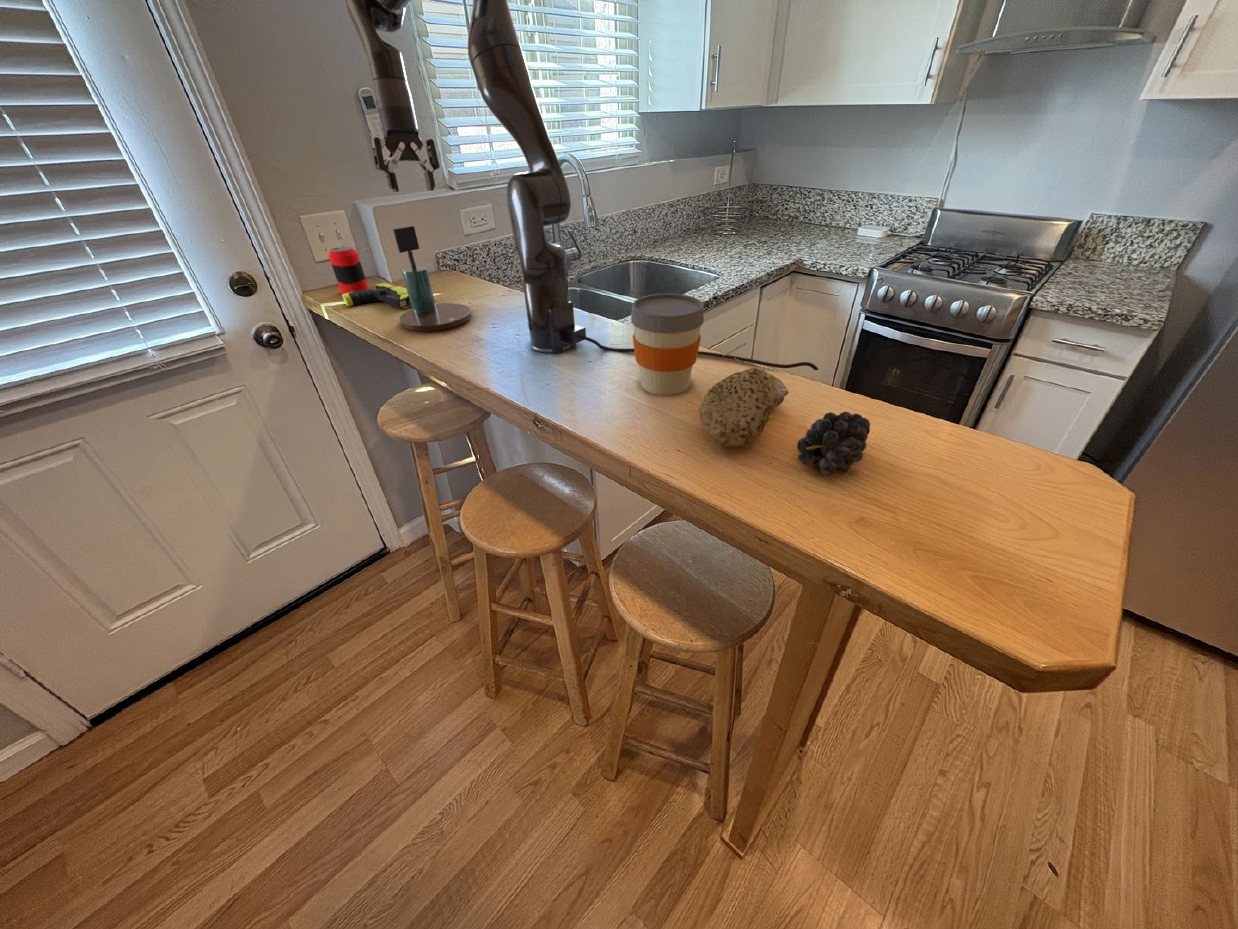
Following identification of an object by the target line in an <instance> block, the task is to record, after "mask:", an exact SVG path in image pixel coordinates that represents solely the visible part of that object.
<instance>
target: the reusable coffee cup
mask: <svg viewBox="0 0 1238 929" xmlns="http://www.w3.org/2000/svg"><path fill="white" fill-rule="evenodd" d="M630 322H631V324H632V326H633V334H632V342H633V349H634V350H635V352H634V357H635V363H637V365H638V369H639V370H638V372H639V377H640V385H641V387H642V389H644V391H646V392H648V393H650V394H653V395H657V396H671V395H673V396H674V395H677V394H681V393H683V392H685V391H687V389H688V388H689V386H690V381H691V380H690V379H691V377H692V371H693V367H694V365H695V364H696V362H697V359H698V358H697V357H698V351H699V348H700V345H701V339H702V336H701V334H700V333H701V328H702V326H703V324H704V302H703V301H702V300H700V299H699V298H697V297H695V296H691V295H687V294H682V293H653V294H648V295H644V296H641V297H639V298H637V299H635V300H634V301H633V302H632V306H631V317H630Z"/></svg>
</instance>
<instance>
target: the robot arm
mask: <svg viewBox="0 0 1238 929" xmlns="http://www.w3.org/2000/svg"><path fill="white" fill-rule="evenodd" d="M411 2H412V0H344V4H345V8H346V11H347V14H348V17H349V19H350V21H351V24H352V26H353V28H354V30H355V32H356V34H357V37H358V38H359V41H360V44H361V46H362V48H363V50H364V53H365V56H366V59H367V64H368V67H369V71H370V76H371V81H372V85H373V94H374V99H375V105H376V108H377V111H378V116H379V121H380V125H381V130H382V132H383V138H379V137H377V136H375V137H372V138H370V140H369V141H370V145H371V151H372V156H373V162H374V167H375V169H376V170H378V171H379V170H380V171H382V172H384V173H385V176H386V180H387V184H388V188H389V189H390V190H391V191H392V193H399V192H400V188H399V185H398V180H397V175H396V172H394V171H395V168H396V166H397V164H398V163H399V162H405V161H407V162H415V163H416V164H417V165H419V167H420V168H421V169H422V171H424V172H423V176H424V181H425V186H426V189H427V191H428V192H430V191H434V190H435V188H436V182H435V177H434V171H436V170H438V169H440V167H441V166H440V162H439V157H438V153H437V149H436V148H437V147H436V145H435V140H434V139H433V138H428V139H421V137H420V135H419V127H418V122H417V117H416V112H415V108H414V107H415V106H414V102H413V97H412V93H411V90H410V87H409V82H408V78H407V74H406V69H405V64H404V58H403V55H402V52H401V51H400V49H399V48H398V47H397V46H394V45H393V44H390V43H388V42H387V41H385V40H383V39H382V38H381V36H380V35H379V33H378V32H377V31H379V32H385V33H396V32H398V31H400V30H401V29H402V27H403V24H404V18H405V13H406V9H407V7H408V5H409V4H410V3H411ZM467 36H468V37H467V55H468V59H469V62H470V66H471V69H472V72H473V75H474V78H475V80H476V84H477V87H478V90H479V92H480V93H479V94H480V96H481V97H482V99H483V101H484V103H485V105H486V106H487V108H488V109H489V110H490V112H491V113H492V114H493V116H494V117H495V118H496V120H497V121H498V122H499V123H500V124H501V125H502V126H503V128H504V129H505V130H506V131H507V132H508V134H509V135H510V136H511V137H512V138H513V140H514V141H515V142H516V144H517V145H518V146H519V148H520V150H521V152H522V154H523V156H524V158H525V161H526V163H527V166H528V169H529V171H525V172H518V173H515V174H513V175H511V177H510V178H509V179H508V182H507V185H506V203H507V210H508V211H507V212H508V215H509V221H510V226H511V232H512V237H513V243H514V248H515V250H516V252H517V255H518V257H519V264H520V270H521V271H520V272H521V278H522V287H523V294H524V301H525V309H526V317H527V321H526V324H527V328H528V331H529V337H530V338H529V339H530V348H531V349H532V350H534V351H535V352H540V353H553V354H560V353H561V352H564V351H567V350H568V349H570V348H574V347H575V346H577V344H579V343H581V342H582V341H587V342H590V343H592V344H594V345H596V346H597V348H600V349H601V350H603V351H609V352H617V353H635V350H634V348H615V347H608V346H605V345H602V344H600V342H598V341H597V340H596V339H593V338H591V337H588V336H587V330H586V329H587V328H586V327H585V326H582V325H578V324H577V325H575V324H576V323H575V313H574V302H572V301H570V292H569V291H570V290H569V279H568V278H569V277H568V264H567V254H566V252H567V251H566V249H565V248H564V247H563V246H562V245H560V244H557V243H553V242H549V241H548V240H547V236H546V234H545V233H546V232H545V227H549V226H552V225H558V224H561V223H564V222H565V221H566V220H567V219H568V218H569V216H570V213H571V208H572V206H571V205H572V203H571V202H572V201H571V200H572V199H571V195H570V189H569V186H568V183H567V178H566V177H565V174H564V172H563V169H562V166H561V164H560V161H559V158H558V157H557V155H556V154H557V153H556V152H555V149H554V146H553V144H552V142H551V139H550V136H549V133H548V131H547V130H548V129H547V128H546V125H545V122H544V119H543V116H542V115H543V114H542V113H541V110H540V106H539V103H538V101H537V98H536V94H535V91H534V87H533V83H532V80H531V77H530V76H531V75H530V73H529V69H528V66H527V63H526V59H525V56H524V53H523V49H522V47H521V43H520V41H519V38H518V34H517V31H516V28H515V25H514V21H513V18H512V15H511V11H510V6H509V3H508V1H507V0H472V8H471V16H470V22H469V26H468V35H467ZM384 147H386V149H387V150H388V151H389V153H388V156H387V158H386V162H385V159H384V154H383V150H384ZM422 148H423V149H424V150H425V152H426V155H427V157H426V156H425V155H424V154H423V153H422ZM700 355H701V356H709V357H716V358H722V359H727V360H734V361H740V362H745V363H750V364H756V365H761V366H766V367H771V368H777V369H778V368H779V369H792V368H798V367H809V368H811V369H812V370H814V371H819V368H818V367H817V366H816V365H815V364H814V363H812V362H808V361H801V362H795V363H789V364H783V363H774V362H768V361H762V360H757V359H753V358H747V357H741V356H737V355H736V356H735V355H731V354H730V355H729V354H723V353H716V352H709V351H701V350H698V354H697V356H700ZM723 355H724V356H723ZM735 358H736V359H735ZM737 359H738V360H737Z"/></svg>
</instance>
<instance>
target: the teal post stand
mask: <svg viewBox="0 0 1238 929" xmlns="http://www.w3.org/2000/svg"><path fill="white" fill-rule="evenodd" d="M392 231H393V235H394V238H395V242H396V246H397V250H398V253H400V254H402V253H406V252H407V257H408V261H409V264H410V266H408V267H404V268H403V269H401V273H402V277H403V281H404V284H405V288H406V289H407V292H408V296H409V299H410V303H411V306H410V307H411V309H408V310H406V311H405V312H404V313H402V314H401V315H400V316H399V322H400V325H401V326H402V327H403V328H405V329H406V330H411V331H418V332H419V331H420V332H427V331H431V332H432V331H438V330H446V329H450V328H454V327H458V326H460V325H462V324H464V323H466V322H467V321H469V320H470V319H471V317H472V311H471V309H470V307H469V306H467V305H465V304H461V303H454V302H442V303H440V302H439V303H436V300H435V296H434V292H433V289H432V283H431V279H430V276H429V273H428V268H427V267H426V266H424V265H423V266H422V265H417V264H416V260H415V255H414V252H413V251H415V250H420V244H419V241H418V236H417V232H416V229H415V226H414V225H411V226H405V227H404V226H403V227H400V228H399V227H397V228H393V229H392Z"/></svg>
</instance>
